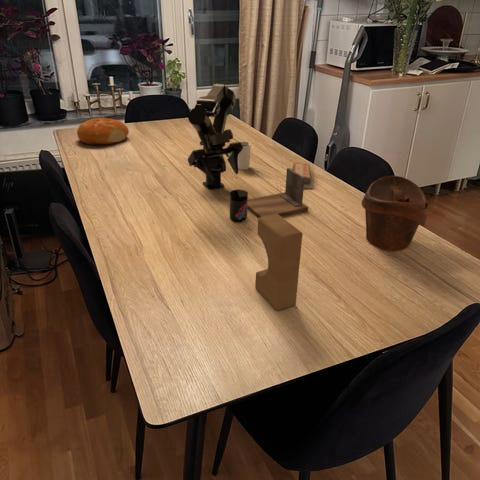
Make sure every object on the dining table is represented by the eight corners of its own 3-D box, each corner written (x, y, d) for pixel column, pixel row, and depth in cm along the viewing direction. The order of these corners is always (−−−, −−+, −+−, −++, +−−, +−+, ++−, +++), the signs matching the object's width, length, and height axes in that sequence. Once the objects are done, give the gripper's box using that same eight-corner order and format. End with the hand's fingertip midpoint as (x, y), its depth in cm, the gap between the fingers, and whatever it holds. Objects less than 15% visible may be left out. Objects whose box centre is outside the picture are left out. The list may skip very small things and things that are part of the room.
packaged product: (288, 160, 187) (313, 161, 186) (288, 171, 189) (312, 173, 188) (287, 176, 171) (314, 177, 170) (286, 188, 173) (313, 189, 173)
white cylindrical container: (231, 168, 190) (232, 145, 185) (238, 163, 195) (238, 140, 190) (246, 171, 187) (247, 147, 183) (252, 165, 193) (253, 142, 188)
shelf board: (242, 204, 159) (242, 173, 153) (286, 195, 166) (288, 165, 160) (261, 221, 148) (263, 188, 142) (307, 211, 155) (311, 179, 150)
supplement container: (231, 223, 146) (231, 197, 142) (227, 215, 151) (227, 190, 147) (249, 221, 148) (250, 196, 143) (244, 213, 153) (245, 188, 148)
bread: (122, 148, 211) (120, 126, 206) (72, 147, 211) (68, 125, 206) (133, 134, 231) (131, 114, 226) (87, 133, 231) (84, 113, 226)
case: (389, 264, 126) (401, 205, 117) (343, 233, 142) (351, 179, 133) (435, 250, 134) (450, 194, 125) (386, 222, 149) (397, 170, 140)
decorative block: (254, 287, 116) (257, 216, 106) (273, 282, 118) (278, 212, 108) (276, 312, 107) (281, 237, 97) (296, 306, 109) (303, 232, 100)
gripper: (190, 125, 140) (210, 170, 137) (240, 117, 149) (259, 159, 147) (179, 144, 149) (197, 186, 147) (227, 135, 159) (245, 175, 156)
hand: (225, 176), depth 149 cm, fingers open, 9 cm apart
